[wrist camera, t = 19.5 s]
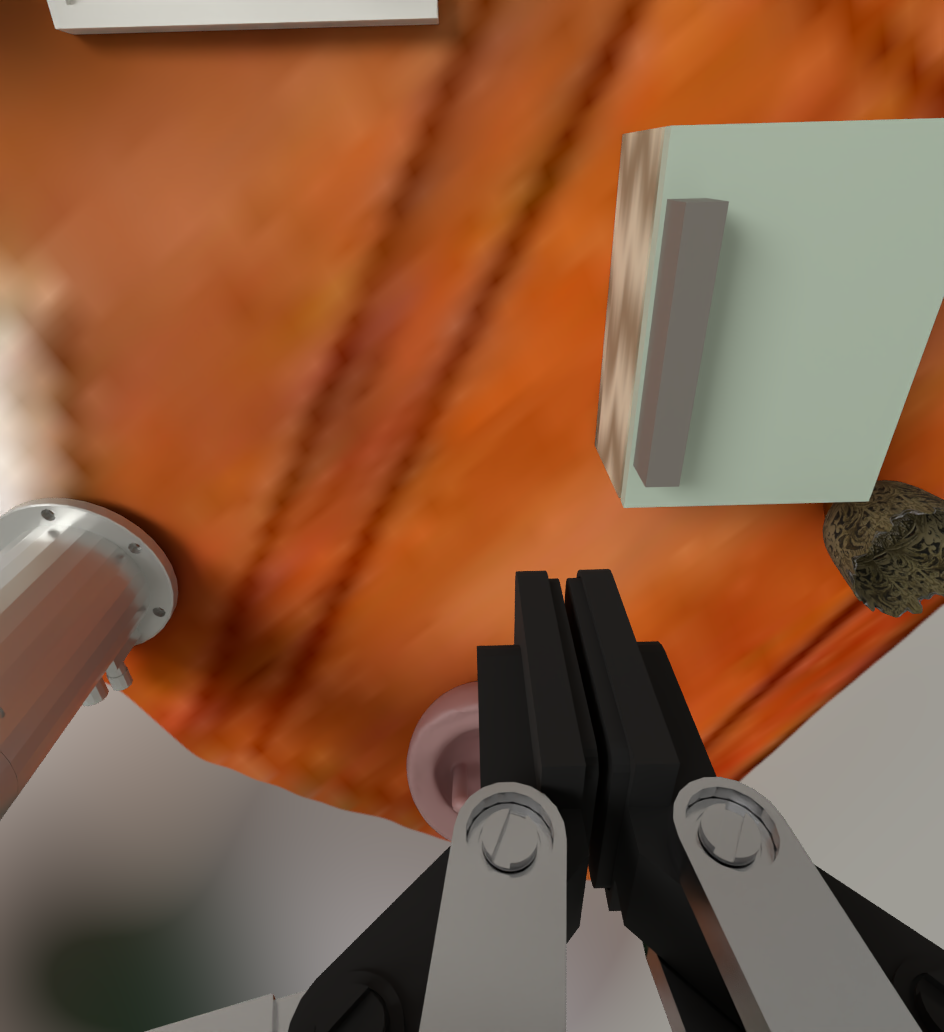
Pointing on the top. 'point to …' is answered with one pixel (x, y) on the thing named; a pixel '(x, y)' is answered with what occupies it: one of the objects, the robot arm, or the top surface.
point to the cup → (889, 546)
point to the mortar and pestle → (446, 757)
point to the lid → (784, 309)
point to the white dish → (234, 14)
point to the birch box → (627, 294)
